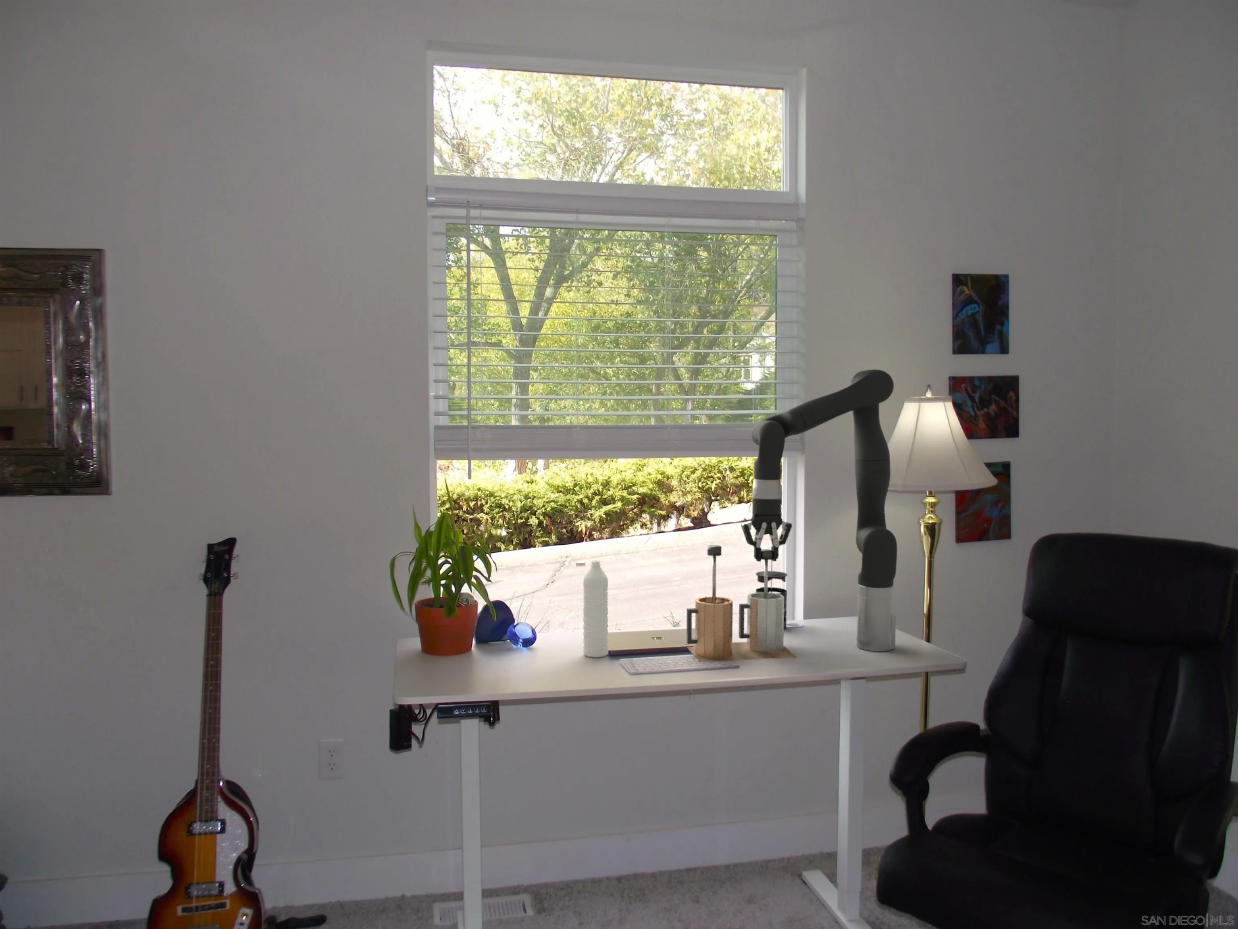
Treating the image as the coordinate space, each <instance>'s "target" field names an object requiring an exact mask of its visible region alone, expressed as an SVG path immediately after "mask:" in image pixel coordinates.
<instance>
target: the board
mask: <svg viewBox="0 0 1238 929" xmlns="http://www.w3.org/2000/svg"><path fill="white" fill-rule="evenodd" d="M686 648H687V650H689V652H690V653H691V654H692V655H693V656H694V658H696V660H697V661H698V662H700V663H705V662H723V661H724V662H725V661H742V660H743V661H745V660H746V661H747V660H765V659H766V660H767V659H789V658H798V656H797V655H796V654H795V653H793V652H792V650H789V649H788V648H787V647H786V646H784V645H783V650H782V651H779V652H775V653H762V652H755V651H752V650H749V649H748V648H747V641H739V642H736V641H735V642H732V655H731V656H730V657H727V658H720V659H711V658H703V657H700V656H697V655H696V653H695V646H693V647H686Z"/></svg>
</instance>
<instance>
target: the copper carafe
mask: <svg viewBox="0 0 1238 929" xmlns="http://www.w3.org/2000/svg"><path fill="white" fill-rule="evenodd" d="M733 601H734V600H732V599H731V598H728V597H723V596H716V603H719V604H708V603H712V596H701V597H698V598H696V599H695V601H694V602H695V606H694V607H691V608H686V645H689V644H695V653H696V655H697V656H700V657H703V658H711V659H720V658H727V657H730V656H731V655H732V643H733V620H734V619H733V613H734V612H733V608H734V606H733V604H734V602H733ZM692 614H695V619H694V622H695V623H694V624H695V625H694V628H695V630H694V633H695V634H694V635H695V636H694V638H693V637H692V635H693V634H692V633H693V631H692V628H693V626H692V624H693V622H692V620H693V619H692V618H693V615H692Z"/></svg>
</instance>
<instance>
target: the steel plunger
mask: <svg viewBox="0 0 1238 929" xmlns="http://www.w3.org/2000/svg"><path fill="white" fill-rule="evenodd" d="M772 559H773V550H771V549H768V548H766V549H762V548H761V561H762V560H763V561H764V563H763V564H764V568H763V569H764V583H763V584H764V585H763V587H764V599H767V595H768V587H769V585H768V584H769V583H768V582H769V581H768V571H769V565H768V564H769V561H771V560H772Z"/></svg>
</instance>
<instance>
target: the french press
mask: <svg viewBox="0 0 1238 929" xmlns="http://www.w3.org/2000/svg"><path fill="white" fill-rule="evenodd" d="M778 556H780V554H778ZM755 576H757V582H758V583H761V584H764V571H763V570H762V571H758V572H756V573H755ZM787 576H788V574H787V573H786V572H784V571H783V572H782V571H777V570H773V561H772V560H770V570H768V582H769V581H770V586H768V593H776V594H781V595H783V596H784V630H786V629H787V628H788V627H787V625H788V624H787V622H788V621H787V605H788V604H787V599H788V590H786V588H785V589H784V588H781V587H773V579H774V580H775V579H776V580H781V581H782V582H783V583H786V577H787ZM758 592H764V586H761V587H758V588H756V589H755V593H758Z"/></svg>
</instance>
